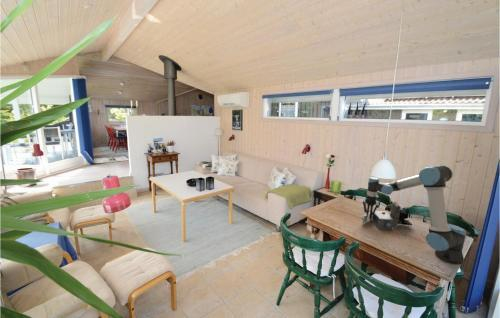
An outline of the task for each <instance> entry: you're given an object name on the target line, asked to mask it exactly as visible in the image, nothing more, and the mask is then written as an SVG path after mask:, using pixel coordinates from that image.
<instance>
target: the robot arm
mask: <svg viewBox="0 0 500 318" xmlns="http://www.w3.org/2000/svg"><path fill="white" fill-rule="evenodd" d="M453 174H454V173H453V171H452V170H451V168H450V167H449V166H446V165H441V164H440V165H434V166H433V165H432V166H427V167H424V168H422V169H421V170H420V171H419V173H418V174H417V175H413V176H410V177H406V178H403V179H400V180H395V181H391V182H387V183H386V182H385V183H383V182H380V179H379V178H378V177H376V176H375V177H374V176H373V177H372V176H371V177H369V179H368V182H367V190H366V199H365V200H363V201H362V204H363V211H364V213H365V215H366V217H367V222H370V221H371V220H370V218H371V216H372V215H374V213H375V211H377V208H378V207H379V206H380V204H378V203H377V196H378V192H379V193H382V194H384V195H391V194H392V193H393V192H399V191H402V190H406V189H410V188H415V187H418V186H422V185H423V188H424V189H426V194H427V200H428V201H427V203H428V210H429V211H428V212H429V220H430V226H429V227H428V233H427V235H426V236H425V240H426V242H427V245H428V246H429V247H430V248H431V249H433V250H434V255H435V256H436V257H437V258H438V259H440V260H441V261H444V262H446V263H448V264H452V265H462V264H463V263H464V259H465V258H464V254H463V249H464V244H465V241H466V237H467V231H466V229H464V228H462V227H460V226H457V225H454V224H450V223H448V220H447V219H448V218H447V211H446V210H447V209H446V201H445V193H444V190H445V188H446V187H447V183H448V182H449V181H450V180H451V179H452V178H453ZM374 206H375V207H374ZM372 212H373V213H372Z"/></svg>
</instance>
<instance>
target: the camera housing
mask: <svg viewBox="0 0 500 318" xmlns="http://www.w3.org/2000/svg"><path fill="white" fill-rule="evenodd" d="M371 221H372V223H374V225H375V226H376V228H377V229H382V230H393V219H392V217H391V216H390V214H389V213H388V212H387V211H385V210H376V211H375V213H374V215H372V220H371Z"/></svg>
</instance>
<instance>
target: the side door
mask: <svg viewBox="0 0 500 318" xmlns="http://www.w3.org/2000/svg"><path fill="white" fill-rule="evenodd" d="M372 213H373V211H372ZM370 221H372V216H371V218H370ZM366 222H368V221H367V217H366V214H364V215H363V216H362V218H361V224H365V223H366Z"/></svg>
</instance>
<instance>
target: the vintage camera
mask: <svg viewBox="0 0 500 318" xmlns="http://www.w3.org/2000/svg"><path fill="white" fill-rule="evenodd" d="M401 208H402V207H401V206H400V205H399V204H398V203H397V202H396V201H394V202H392V204H391V209H390V214H389V215H390V216H391V217H392V219H393V226H392V228H397V227H398V225H404V226H408V227H409V226H413V224H412V223H411V222H410V220H409V219H408V218H409V216H410V214H409V213H410V210H409V209H406V211H404V210H402V209H401Z"/></svg>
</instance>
